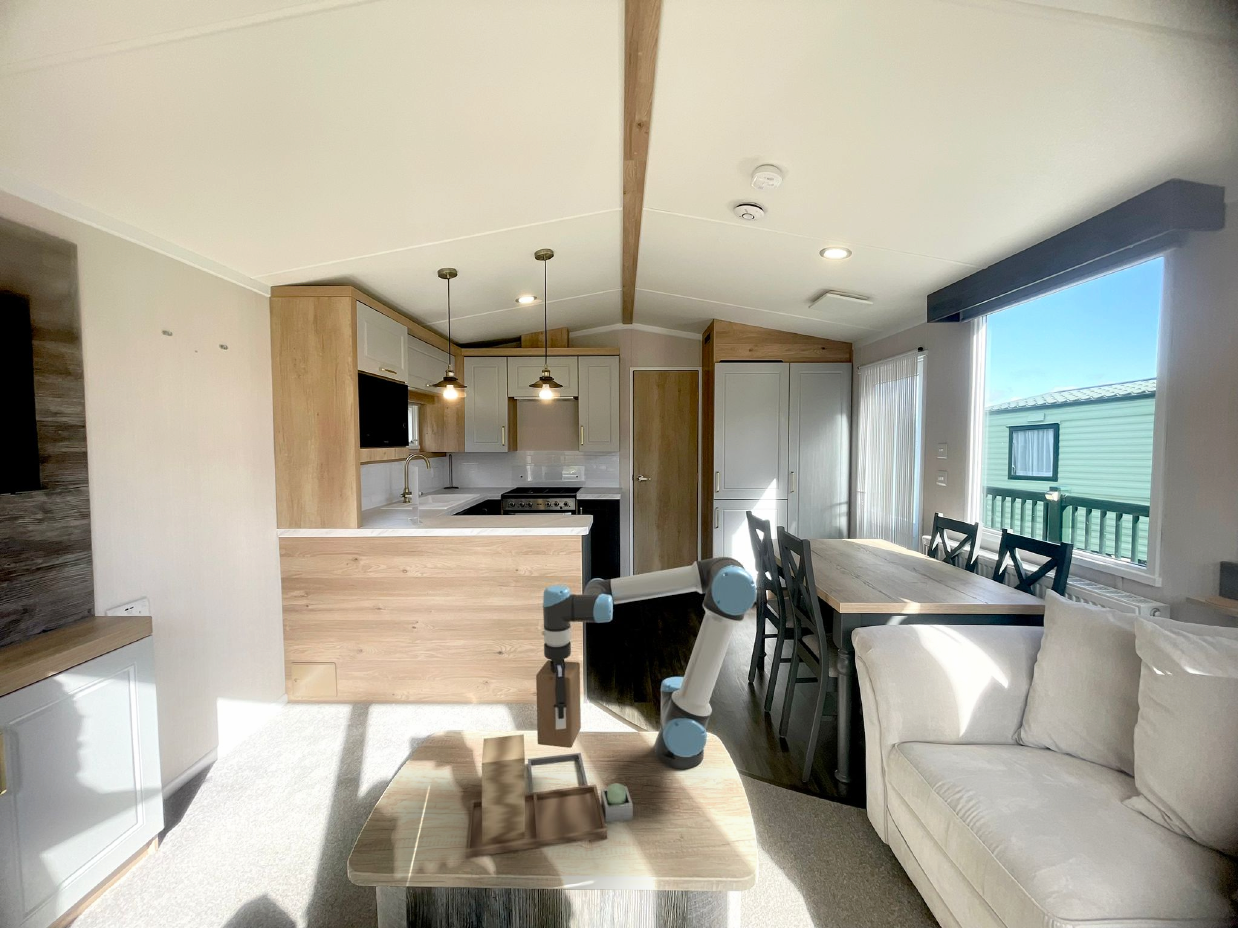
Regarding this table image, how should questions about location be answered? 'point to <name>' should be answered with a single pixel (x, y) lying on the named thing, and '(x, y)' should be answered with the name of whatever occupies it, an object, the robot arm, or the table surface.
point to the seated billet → (503, 789)
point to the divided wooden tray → (545, 821)
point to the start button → (616, 794)
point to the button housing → (616, 808)
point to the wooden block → (548, 699)
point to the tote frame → (556, 759)
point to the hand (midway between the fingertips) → (558, 715)
